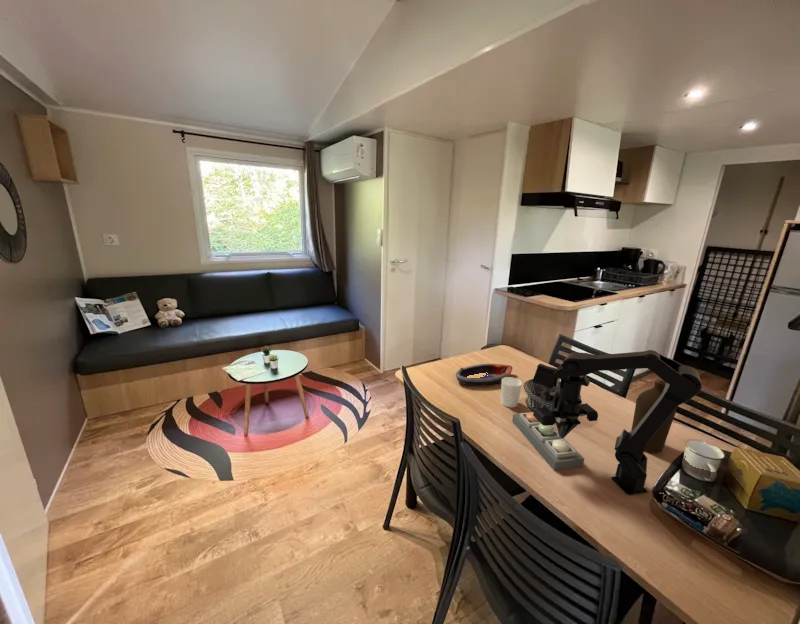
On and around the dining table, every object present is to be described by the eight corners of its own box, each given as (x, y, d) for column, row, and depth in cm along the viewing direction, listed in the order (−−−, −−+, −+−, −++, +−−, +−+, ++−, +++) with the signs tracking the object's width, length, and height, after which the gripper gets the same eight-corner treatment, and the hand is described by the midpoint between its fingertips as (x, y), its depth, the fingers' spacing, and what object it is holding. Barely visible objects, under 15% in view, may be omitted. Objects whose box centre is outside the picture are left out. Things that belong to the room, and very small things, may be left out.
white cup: (499, 406, 138) (502, 384, 135) (498, 397, 145) (501, 376, 143) (519, 409, 136) (522, 387, 134) (518, 399, 144) (521, 378, 141)
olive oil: (647, 457, 111) (665, 388, 104) (619, 437, 120) (634, 373, 113) (672, 452, 113) (692, 384, 106) (643, 433, 123) (659, 370, 116)
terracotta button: (542, 423, 122) (543, 419, 122) (530, 424, 121) (530, 420, 121) (534, 415, 127) (535, 411, 126) (523, 416, 126) (523, 413, 125)
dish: (448, 376, 164) (448, 367, 162) (502, 368, 173) (503, 359, 172) (464, 392, 150) (465, 381, 148) (522, 382, 159) (523, 372, 158)
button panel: (582, 466, 106) (585, 455, 105) (553, 470, 104) (555, 458, 103) (536, 418, 130) (537, 408, 129) (512, 421, 129) (513, 411, 127)
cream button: (571, 453, 107) (572, 448, 107) (557, 454, 106) (558, 450, 106) (562, 443, 112) (562, 439, 111) (548, 444, 111) (549, 440, 110)
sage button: (556, 434, 114) (557, 430, 114) (543, 436, 113) (544, 431, 113) (548, 426, 119) (548, 422, 118) (535, 427, 118) (536, 423, 117)
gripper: (578, 379, 113) (571, 420, 117) (526, 383, 109) (521, 425, 114) (603, 396, 102) (594, 440, 107) (547, 401, 99) (540, 446, 103)
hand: (561, 437), depth 108 cm, fingers closed
